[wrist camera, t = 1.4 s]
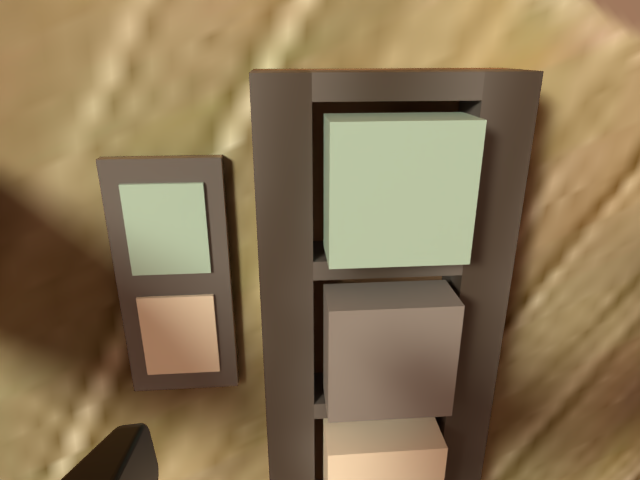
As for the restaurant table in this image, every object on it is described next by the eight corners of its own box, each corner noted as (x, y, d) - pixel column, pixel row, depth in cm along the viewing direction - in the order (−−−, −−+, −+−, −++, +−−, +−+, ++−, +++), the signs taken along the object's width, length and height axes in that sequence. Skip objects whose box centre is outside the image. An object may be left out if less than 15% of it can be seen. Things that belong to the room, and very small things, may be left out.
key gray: (445, 279, 18) (464, 306, 16) (435, 381, 20) (451, 415, 18) (323, 284, 18) (328, 311, 16) (323, 387, 19) (328, 422, 17)
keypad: (502, 68, 18) (543, 71, 15) (452, 467, 25) (474, 520, 22) (253, 69, 17) (249, 72, 14) (273, 479, 24) (272, 535, 21)
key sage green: (462, 111, 16) (486, 119, 14) (449, 241, 17) (469, 264, 16) (323, 113, 16) (329, 121, 14) (323, 245, 17) (328, 269, 15)
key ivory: (432, 411, 20) (448, 448, 18) (424, 493, 22) (437, 534, 20) (323, 417, 20) (327, 455, 18) (322, 500, 21) (327, 543, 20)
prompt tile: (222, 154, 18) (220, 158, 18) (239, 378, 22) (237, 387, 21) (100, 156, 18) (94, 160, 17) (137, 383, 22) (133, 393, 21)
